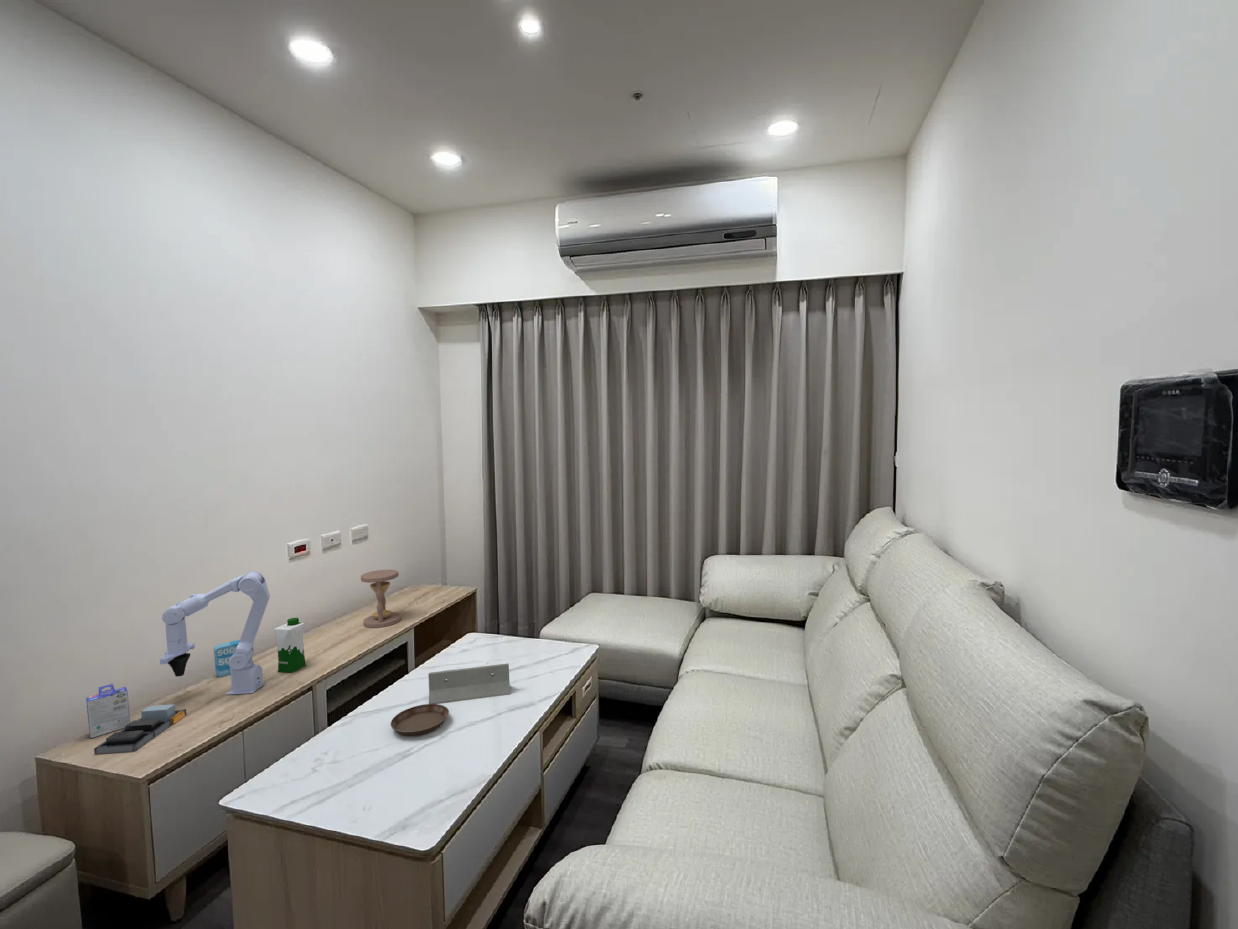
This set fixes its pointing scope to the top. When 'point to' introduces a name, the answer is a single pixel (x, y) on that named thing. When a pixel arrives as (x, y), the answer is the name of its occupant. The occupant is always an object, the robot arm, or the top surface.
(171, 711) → the grey-blue rectangular block
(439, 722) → the plant saucer
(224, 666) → the data package
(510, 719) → the top surface
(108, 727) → the ink cartridge box
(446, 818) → the top surface
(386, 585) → the hourglass
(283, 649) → the milk carton
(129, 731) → the grey tray
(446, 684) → the barrier
